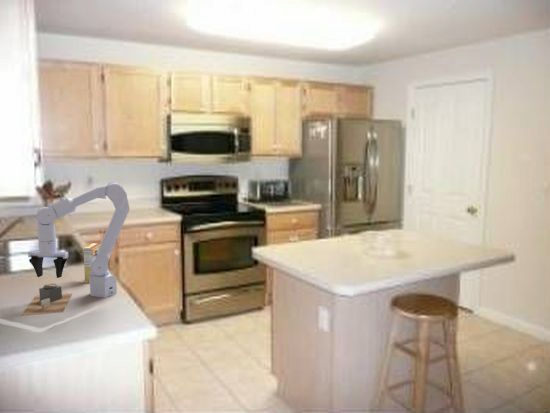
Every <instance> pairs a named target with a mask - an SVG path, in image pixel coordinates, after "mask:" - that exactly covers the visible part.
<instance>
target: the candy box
mask: <svg viewBox="0 0 550 413" xmlns="http://www.w3.org/2000/svg"><path fill="white" fill-rule="evenodd" d="M100 244H101V243H96V242H95V243H90V244H88V245H87V246H84V247H83V264H84V266H83V267H84V270H83V271H84V284H86V285H90V280H89V273H90V272H91V270H90V259H91V257H92V256H93V255H95V253H96V252H97V250H98V248H99V247H100Z"/></svg>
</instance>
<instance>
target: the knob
mask: <svg viewBox="0 0 550 413" xmlns="http://www.w3.org/2000/svg"><path fill="white" fill-rule="evenodd" d="M38 290H39V295H40V301H41V300H44V299H47V298H50V302H53V301H56V300H58V299H61V298H62V294H63V293H62V291H63V289H62V285H61V286H60V285H58V284H57V283H48V284H44V285H43V287H40V288H38Z"/></svg>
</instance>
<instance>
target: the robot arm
mask: <svg viewBox="0 0 550 413" xmlns="http://www.w3.org/2000/svg"><path fill="white" fill-rule="evenodd" d="M107 198H108V199H109V200H110V201H111V202H112V204H113V207H114V208H115V210H114V212H113V214H112V217H111V219H110V222H109V223H108V226H107V228H106V231H105V233H104V235H103V238H102V240H101V242H100V243H99V244H100V247H99V248H98V250H97V252H96V253H95V255H93V256H92V257H91V259H90V270H91V272H90V273H89V280H90V284H89V294H90V296H92V297H98V298H105V299H106V298H108V297H110V296H114V295H115V294H117V293H118V291H117V290H118V289H117V279H116V277H115V276H114V275H112V274H111V273H110V270H109V261H110V258H111V254H112V252H113V249H114V247H115V244H116V242H117V240H118V238H119V235H120V232H121V231H122V228H123V225H124V224H125V221H126V219H127V217H128V214H129V212H130V205H129V200H128V193H127V192H126V190H125V189H124V188H123V186H121V184H120V183H118V182H115V181H111V182H109V183H108V184H107V183H106V184H102V185H99V186H96V187H95V188H93V189H89V190H88V191H86V192H84V193H82V194H79V195H78V196H76V197H73V198H72V197H68V196H67V197H65V198H64V197H63V196H62V197H60V198H59V200H58V201H55V202H53V203H47V206H43V207H41V208H39V209H38V211H37V212H36V216H35V218H36V220H37V241H38V250H29V251H28V252H27V257H28V258H29V260H28V262H29V263H30V264H31V266H32V267H33V269H34V272H35V274H36V276H37V278H41V277H42V276H43V274H44V270H43V269H44V268H43V263H44V258H51V259H52V258H55V259H53V260H52V262H53V263H54V268H55V274H56V276H55V277H56V279H60V278H61V277H62V276H63V272H64V267H65V266H66V265H65V264H66V263H67V261H68V259H69V252H68V251H61V250H60V251H59V250H57V235H56V226H55V221H54V220H57V219H61V218H64V217H65V216H67V215H69V214H71V213H74V212H76V208H77V207H79V206H81V205H84V204H86V203H88V202H90V201H91V202H92V201H93V200H94V201H95V200H96V199H105V200H106V199H107Z"/></svg>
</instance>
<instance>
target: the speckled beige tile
mask: <svg viewBox="0 0 550 413" xmlns="http://www.w3.org/2000/svg"><path fill="white" fill-rule="evenodd" d="M49 307H50V298H47V299H44V300H41V308H42V309H46V308H49Z"/></svg>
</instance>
